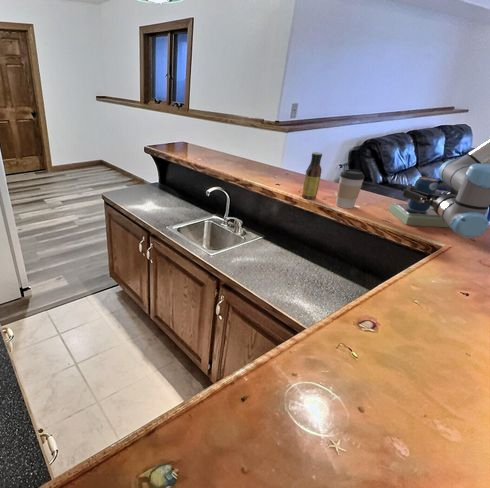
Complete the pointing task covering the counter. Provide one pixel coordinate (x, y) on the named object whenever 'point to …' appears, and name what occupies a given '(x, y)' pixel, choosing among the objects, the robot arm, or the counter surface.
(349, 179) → the coffee cup
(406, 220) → the scale
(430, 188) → the soda can
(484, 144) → the robot arm
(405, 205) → the scale pan
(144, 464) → the counter surface
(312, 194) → the sauce bottle
